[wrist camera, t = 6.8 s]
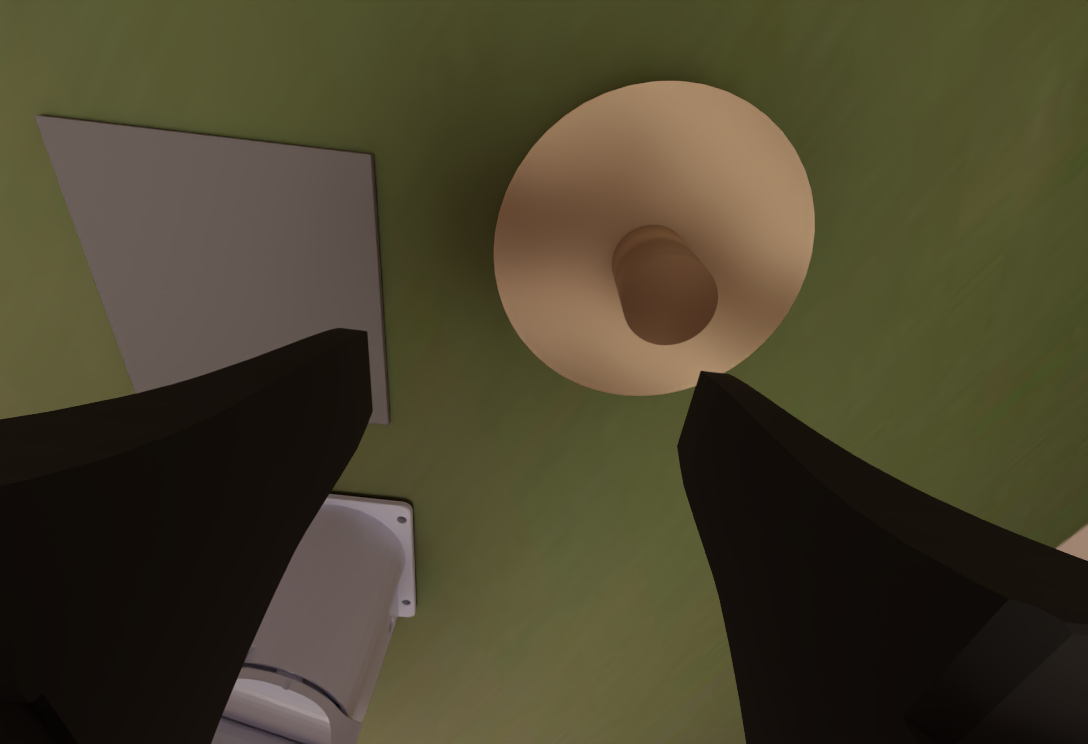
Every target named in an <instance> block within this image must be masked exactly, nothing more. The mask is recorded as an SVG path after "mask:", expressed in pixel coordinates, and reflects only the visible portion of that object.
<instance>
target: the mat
mask: <svg viewBox="0 0 1088 744" xmlns="http://www.w3.org/2000/svg"><path fill="white" fill-rule="evenodd" d="M34 116H35V119H36V122H37V124H38V127H39V130H40V133H41V135H42V138H43V141H44V144H45V146H46V149H47V152H48V155H49V157H50V160H51V163H52V166H53V168H54V171H55V174H56V177H57V179H58V182H59V185H60V187H61V190H62V193H63V196H64V198H65V201H66V204H67V207H68V209H69V212H70V215H71V218H72V220H73V223H74V226H75V229H76V231H77V234H78V237H79V240H80V242H81V245H82V248H83V251H84V253H85V256H86V259H87V261H88V264H89V267H90V270H91V272H92V275H93V278H94V281H95V283H96V286H97V289H98V292H99V294H100V297H101V300H102V303H103V305H104V308H105V311H106V314H107V316H108V319H109V322H110V324H111V327H112V330H113V333H114V335H115V338H116V341H117V344H118V346H119V349H120V352H121V355H122V357H123V360H124V363H125V366H126V368H127V371H128V374H129V377H130V379H131V382H132V385H133V387H134V390H135V393H140V392H144V391H148V390H152V389H156V388H159V387H163V386H167V385H171V384H175V383H178V382H181V381H185V380H188V379H192V378H195V377H198V376H201V375H205V374H207V373H210V372H213V371H216V370H219V369H222V368H225V367H228V366H231V365H234V364H237V363H239V362H242V361H245V360H248V359H251V358H254V357H257V356H259V355H262V354H265V353H267V352H270V351H273V350H275V349H278V348H280V347H283V346H286V345H288V344H291V343H294V342H296V341H299V340H301V339H304V338H307V337H310V336H312V335H315V334H318V333H321V332H324V331H327V330H331V329H335V328H345V329H354V330H362V331H367V333H368V347H369V362H370V376H371V391H372V405H373V412H372V415H371V417H370V420H369V422H368V423H374V424H383V425H389V423H390V410H389V394H388V378H387V362H386V346H385V330H384V314H383V298H382V282H381V266H380V250H379V234H378V218H377V202H376V186H375V170H374V154H368V153H360V152H351V151H343V150H334V149H326V148H317V147H309V146H300V145H292V144H283V143H275V142H266V141H258V140H249V139H241V138H232V137H224V136H215V135H207V134H198V133H190V132H181V131H173V130H164V129H156V128H147V127H139V126H131V125H122V124H114V123H105V122H97V121H88V120H80V119H71V118H63V117H54V116H46V115H34Z"/></svg>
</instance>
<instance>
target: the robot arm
mask: <svg viewBox="0 0 1088 744" xmlns="http://www.w3.org/2000/svg"><path fill="white" fill-rule="evenodd" d="M372 412H373V405H372V391H371V376H370V362H369V347H368V333H367V331H362V330H354V329H345V328H335V329H331V330H327V331H324V332H321V333H318V334H315V335H312V336H310V337H307V338H304V339H301V340H299V341H296V342H294V343H291V344H288V345H286V346H283V347H280V348H278V349H275V350H273V351H270V352H267V353H265V354H262V355H259V356H257V357H254V358H251V359H248V360H245V361H242V362H239V363H237V364H234V365H231V366H228V367H225V368H222V369H219V370H216V371H213V372H210V373H207V374H205V375H201V376H198V377H195V378H192V379H188V380H185V381H181V382H178V383H175V384H171V385H167V386H163V387H159V388H156V389H152V390H148V391H144V392H140V393H136V394H132V395H128V396H124V397H119V398H114V399H109V400H104V401H99V402H94V403H89V404H84V405H80V406H75V407H70V408H65V409H60V410H55V411H50V412H44V413H38V414H32V415H26V416H19V417H13V418H7V419H1V420H0V744H356V742H357V739H358V736H359V733H360V730H361V727H362V724H361V722H362V720H363V718H364V716H365V714H366V712H367V709H368V706H369V703H370V700H371V697H372V694H373V691H374V688H375V685H376V682H377V679H378V676H379V673H380V669H381V666H382V663H383V660H384V657H385V654H386V651H387V648H388V645H389V642H390V639H391V636H392V633H393V630H394V627H395V623H396V620H397V617H398V616H400V617H412V616H414V615H415V612H416V585H415V560H414V534H413V509H412V507H411V505H410V504H408V503H406V502H402V501H392V500H383V499H373V498H364V497H354V496H345V495H336V494H330V492H331V491H332V489H333V487H334V486H335V484H336V482H337V481H338V479H339V478H340V476H341V474H342V473H343V471H344V469H345V468H346V466H347V465H348V463H349V461H350V460H351V458H352V456H353V455H354V453H355V451H356V449H357V448H358V445H359V443H360V441H361V439H362V436H363V434H364V432H365V429H366V427H367V424H368V422H369V420H370V417H371V415H372ZM677 448H678V455H679V462H680V468H681V474H682V479H683V484H684V488H685V491H686V495H687V498H688V501H689V504H690V507H691V510H692V513H693V517H694V520H695V523H696V526H697V529H698V532H699V535H700V538H701V541H702V544H703V547H704V550H705V553H706V556H707V559H708V562H709V565H710V568H711V571H712V574H713V577H714V581H715V585H716V588H717V592H718V595H719V599H720V604H721V609H722V613H723V618H724V623H725V627H726V632H727V637H728V642H729V646H730V652H731V657H732V662H733V668H734V673H735V679H736V684H737V689H738V695H739V700H740V706H741V713H742V719H743V725H744V732H745V738H746V744H1088V561H1086V560H1083V559H1081V558H1078V557H1075V556H1073V555H1070V554H1067V553H1065V552H1062V551H1060V550H1057V549H1054V548H1052V547H1049V546H1047V545H1044V544H1042V543H1039V542H1036V541H1034V540H1031V539H1029V538H1026V537H1023V536H1021V535H1018V534H1016V533H1013V532H1011V531H1009V530H1006V529H1004V528H1001V527H999V526H997V525H994V524H992V523H989V522H987V521H985V520H982V519H980V518H978V517H976V516H973V515H971V514H969V513H967V512H965V511H962V510H960V509H958V508H956V507H954V506H951V505H949V504H947V503H945V502H943V501H940V500H938V499H936V498H934V497H932V496H930V495H928V494H926V493H924V492H922V491H920V490H918V489H915V488H913V487H911V486H909V485H907V484H906V483H904V482H902V481H900V480H898V479H896V478H894V477H893V476H891V475H889V474H887V473H885V472H883V471H881V470H879V469H878V468H876V467H874V466H872V465H870V464H868V463H867V462H865V461H863V460H861V459H860V458H858V457H856V456H855V455H853V454H851V453H850V452H848V451H846V450H845V449H843V448H841V447H840V446H838V445H837V444H835V443H833V442H832V441H830V440H829V439H827V438H825V437H824V436H822V435H821V434H819V433H818V432H816V431H815V430H813V429H812V428H810V427H809V426H807V425H806V424H804V423H803V422H801V421H800V420H798V419H797V418H795V417H794V416H792V415H791V414H789V413H788V412H786V411H785V410H784V409H782V408H781V407H779V406H778V405H776V404H775V403H774V402H772V401H771V400H769V399H768V398H766V397H765V396H763V395H762V394H761V393H759V392H758V391H756V390H755V389H753V388H752V387H750V386H749V385H747V384H746V383H744V382H742V381H741V380H739V379H737V378H736V377H734V376H732V375H730V374H724V373H716V372H707V371H700V374H699V378H698V381H697V384H696V387H695V391H694V394H693V397H692V400H691V403H690V407H689V410H688V413H687V416H686V419H685V423H684V426H683V429H682V432H681V436H680V439H679V442H678V445H677ZM401 516H402V517H404V518H402V517H401Z"/></svg>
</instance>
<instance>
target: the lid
mask: <svg viewBox="0 0 1088 744" xmlns="http://www.w3.org/2000/svg"><path fill="white" fill-rule="evenodd" d="M814 233H815V221H814V205H813V199H812V192H811V188H810V185H809V181H808V178H807V175H806V171H805V169H804V167H803V165H802V163H801V160H800V158H799V156H798V154H797V152H796V150H795V149H794V147H793V146H792V144H791V143H790V142H789V140H788V139H787V137H786V136H785V134H784V133H783V132H782V131H781V130H780V129H779V128H778V127H777V125H776V124H775V123H774V122H773V121H772V120H771V119H770V118H769V117H768V116H767V115H765V114H764V113H763V112H761V111H760V110H758V109H757V108H756V107H754V106H753V105H752V104H750V103H749V102H747V101H745V100H743V99H741V98H739V97H737V96H735V95H733V94H731V93H729V92H727V91H724V90H721V89H718V88H714V87H711V86H708V85H705V84H698V83H692V82H685V81H654V82H647V83H641V84H634V85H629V86H626V87H623V88H619V89H616V90H613V91H610V92H606V93H604V94H602V95H600V96H598V97H596V98H593V99H591V100H589V101H587V102H585V103H583V104H582V105H580V106H579V107H577V108H576V109H574V110H572V111H571V112H569V113H568V114H566V115H565V116H564V117H562V118H561V119H560V120H559V121H558V122H557V123H555V124H554V125H553V126H552V127H551V128H550V129H549V130H547V131H546V133H545V134H544V135H543V136H542V137H541V138H540V139H539V140H538V141H537V143H536V144H535V145H534V146H533V147H532V148H531V150H530V151H529V153H528V154H527V156H526V157H525V159H524V160H523V161H522V163H521V164H520V166H519V167H518V169H517V170H516V172H515V174H514V176H513V178H512V180H511V182H510V184H509V186H508V188H507V190H506V193H505V196H504V199H503V202H502V205H501V208H500V210H499V215H498V220H497V225H496V229H495V239H494V270H495V277H496V282H497V287H498V292H499V295H500V298H501V301H502V304H503V307H504V309H505V312H506V314H507V316H508V318H509V320H510V322H511V324H512V326H513V327H514V329H515V330H516V332H517V333H518V335H519V336H520V338H521V339H522V341H523V342H524V343H525V344H526V345H527V346H528V348H529V349H530V350H531V351H532V352H533V353H534V354H535V355H536V356H537V357H538V358H539V359H540V360H541V361H543V362H544V363H545V364H546V365H547V366H549V367H550V368H551V369H553V370H554V371H556V372H557V373H559V374H560V375H562V376H564V377H566V378H568V379H570V380H571V381H573V382H575V383H578V384H580V385H583V386H586V387H588V388H591V389H594V390H598V391H602V392H606V393H611V394H618V395H626V396H650V395H660V394H667V393H672V392H677V391H681V390H684V389H688V388H691V387H694V386H696V384H697V381H698V378H699V374H700V371H707V372H716V373H725V372H726V371H728V370H730V369H732V368H733V367H735V366H736V365H737V364H739V363H740V362H742V361H743V360H744V359H746V358H747V357H748V356H750V355H751V354H752V353H753V352H754V351H755V350H756V349H757V348H759V347H760V346H761V345H762V344H763V343H764V342H765V341H766V340H767V339H768V337H769V336H770V335H771V334H772V333H773V332H774V331H775V330H776V329H777V327H778V326H779V324H780V323H781V322H782V320H783V319H784V317H785V316H786V315H787V313H788V312H789V310H790V308H791V306H792V305H793V303H794V301H795V299H796V297H797V295H798V294H799V291H800V289H801V286H802V284H803V281H804V279H805V276H806V274H807V270H808V266H809V263H810V259H811V255H812V249H813V241H814Z"/></svg>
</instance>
